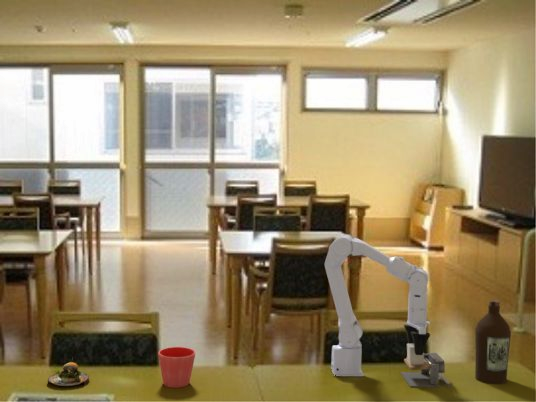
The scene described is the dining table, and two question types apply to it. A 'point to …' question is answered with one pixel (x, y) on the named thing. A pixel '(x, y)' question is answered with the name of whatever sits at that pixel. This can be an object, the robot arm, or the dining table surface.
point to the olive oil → (492, 346)
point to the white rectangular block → (414, 356)
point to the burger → (69, 376)
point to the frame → (434, 373)
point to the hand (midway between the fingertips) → (415, 351)
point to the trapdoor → (433, 358)
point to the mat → (417, 379)
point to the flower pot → (176, 365)
